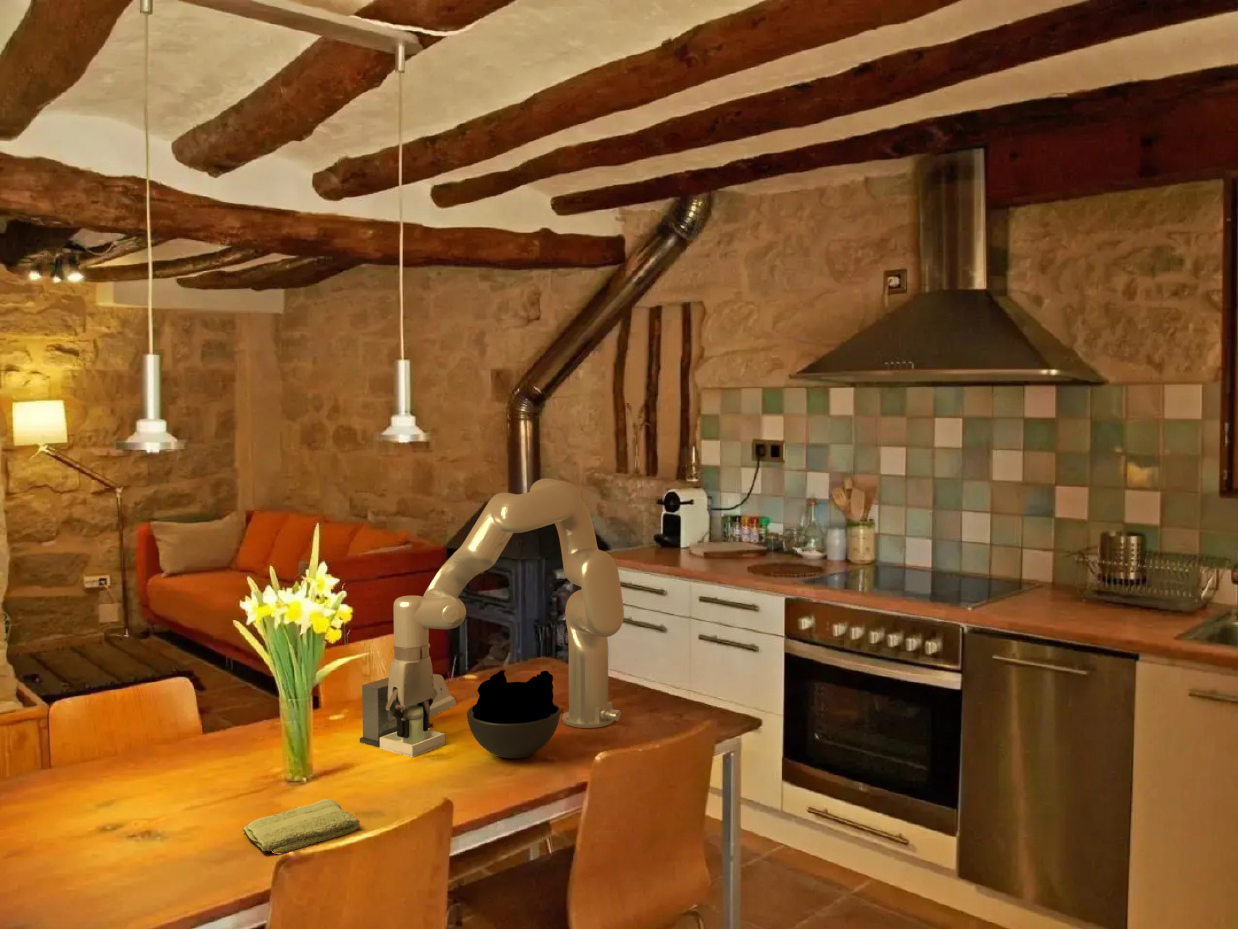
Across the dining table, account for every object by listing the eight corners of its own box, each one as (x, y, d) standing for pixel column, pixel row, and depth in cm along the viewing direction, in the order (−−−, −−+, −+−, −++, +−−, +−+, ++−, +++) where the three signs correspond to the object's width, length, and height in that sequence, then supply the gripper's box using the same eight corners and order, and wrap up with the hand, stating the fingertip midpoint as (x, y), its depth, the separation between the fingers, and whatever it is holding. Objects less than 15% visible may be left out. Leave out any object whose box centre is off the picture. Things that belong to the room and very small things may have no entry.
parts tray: (444, 744, 229) (444, 733, 229) (412, 757, 221) (412, 746, 221) (412, 736, 235) (412, 726, 235) (379, 748, 227) (379, 737, 226)
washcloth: (238, 836, 182) (238, 818, 182) (334, 811, 193) (333, 794, 193) (265, 861, 172) (264, 843, 172) (364, 834, 183) (363, 816, 183)
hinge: (420, 723, 245) (407, 682, 246) (404, 727, 247) (392, 687, 247) (457, 704, 260) (445, 666, 261) (442, 708, 262) (431, 670, 263)
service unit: (432, 727, 242) (432, 672, 241) (378, 747, 228) (377, 689, 227) (414, 723, 245) (413, 669, 244) (359, 742, 231) (358, 685, 230)
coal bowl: (448, 763, 217) (448, 676, 216) (499, 736, 235) (498, 655, 234) (531, 778, 209) (530, 687, 208) (576, 748, 227) (576, 664, 226)
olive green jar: (428, 743, 229) (427, 707, 228) (413, 748, 225) (412, 712, 224) (413, 739, 231) (412, 704, 231) (398, 744, 227) (397, 709, 227)
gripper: (426, 642, 236) (427, 720, 237) (370, 658, 222) (371, 741, 223) (450, 647, 232) (451, 726, 233) (395, 663, 218) (396, 747, 219)
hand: (412, 732), depth 228 cm, fingers open, 5 cm apart
